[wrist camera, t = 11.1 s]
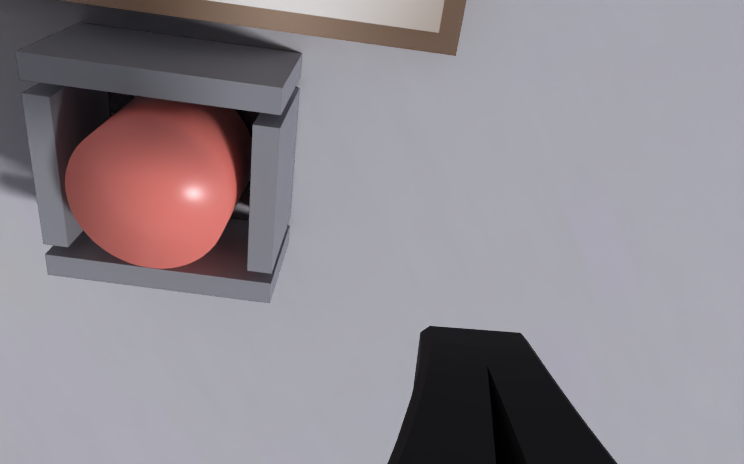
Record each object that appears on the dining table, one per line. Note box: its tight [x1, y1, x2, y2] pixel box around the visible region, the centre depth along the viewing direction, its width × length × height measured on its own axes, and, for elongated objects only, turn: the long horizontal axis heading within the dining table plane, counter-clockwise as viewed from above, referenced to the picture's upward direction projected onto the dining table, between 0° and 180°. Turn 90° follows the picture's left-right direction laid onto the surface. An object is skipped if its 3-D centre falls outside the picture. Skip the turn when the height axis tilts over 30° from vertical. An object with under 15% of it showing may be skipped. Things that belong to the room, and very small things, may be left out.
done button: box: [65, 96, 252, 269], centre depth 16 cm, size 4×4×3 cm
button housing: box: [15, 23, 302, 303], centre depth 16 cm, size 6×6×3 cm
